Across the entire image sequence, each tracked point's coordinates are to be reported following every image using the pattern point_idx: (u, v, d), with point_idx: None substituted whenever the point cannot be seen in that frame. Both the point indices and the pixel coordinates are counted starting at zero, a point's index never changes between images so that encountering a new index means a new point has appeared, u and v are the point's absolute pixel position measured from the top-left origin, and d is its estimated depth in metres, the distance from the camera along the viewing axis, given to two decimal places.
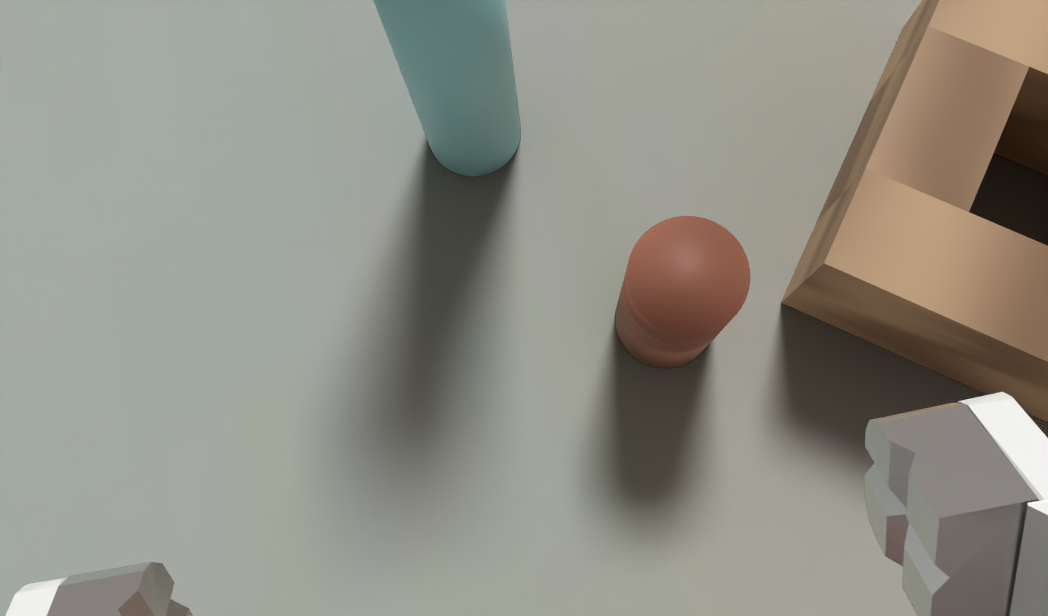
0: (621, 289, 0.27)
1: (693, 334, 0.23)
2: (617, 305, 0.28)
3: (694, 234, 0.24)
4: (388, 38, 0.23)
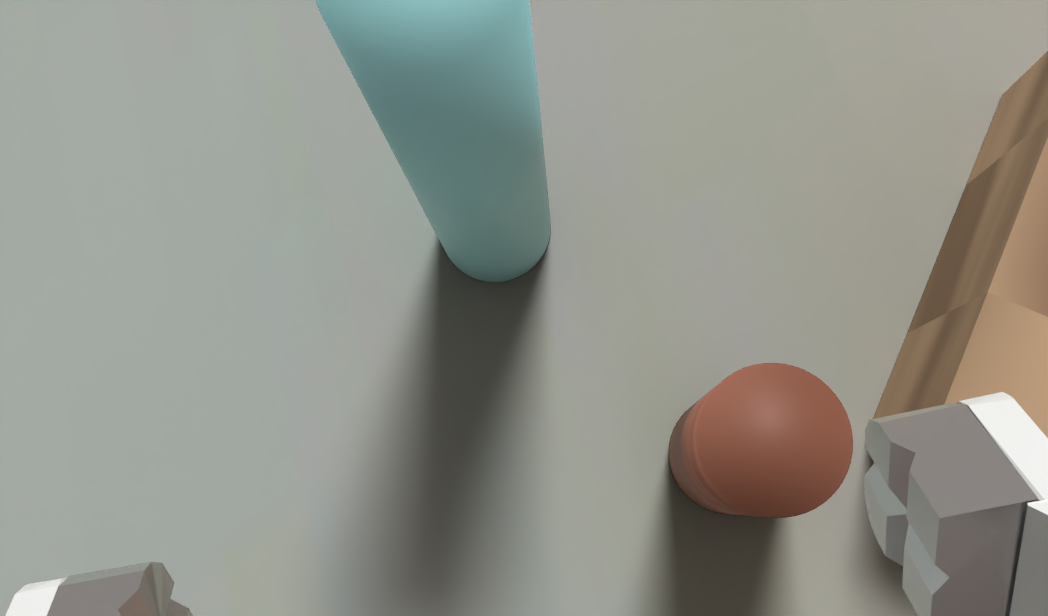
0: (682, 436, 0.22)
1: (783, 516, 0.19)
2: (673, 443, 0.24)
3: (780, 386, 0.19)
4: (392, 150, 0.19)
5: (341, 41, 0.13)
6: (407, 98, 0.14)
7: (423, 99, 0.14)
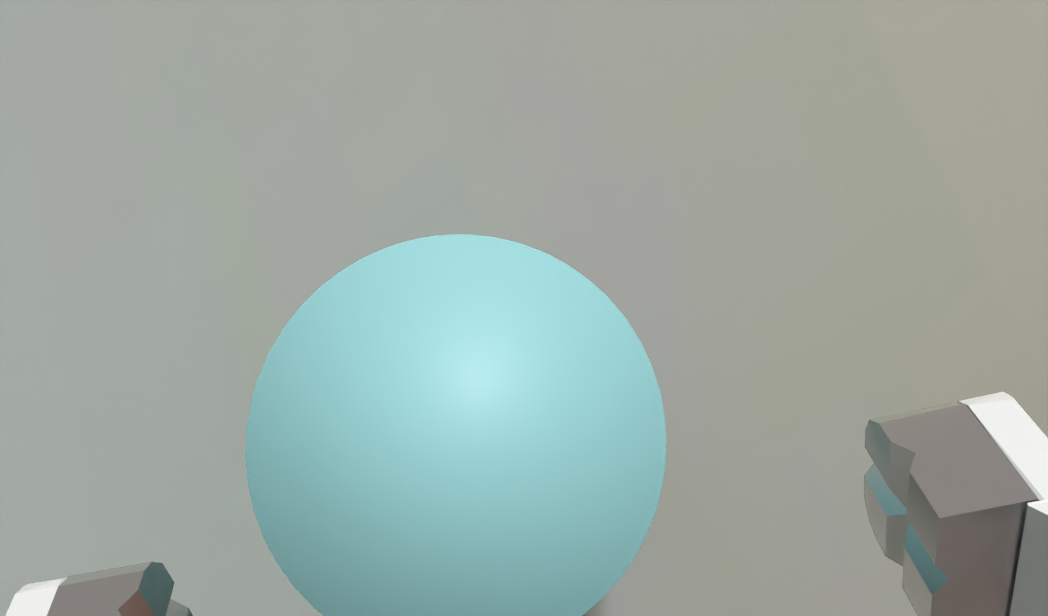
0: None
1: None
2: None
3: None
4: None
5: (301, 592, 0.07)
6: None
7: None
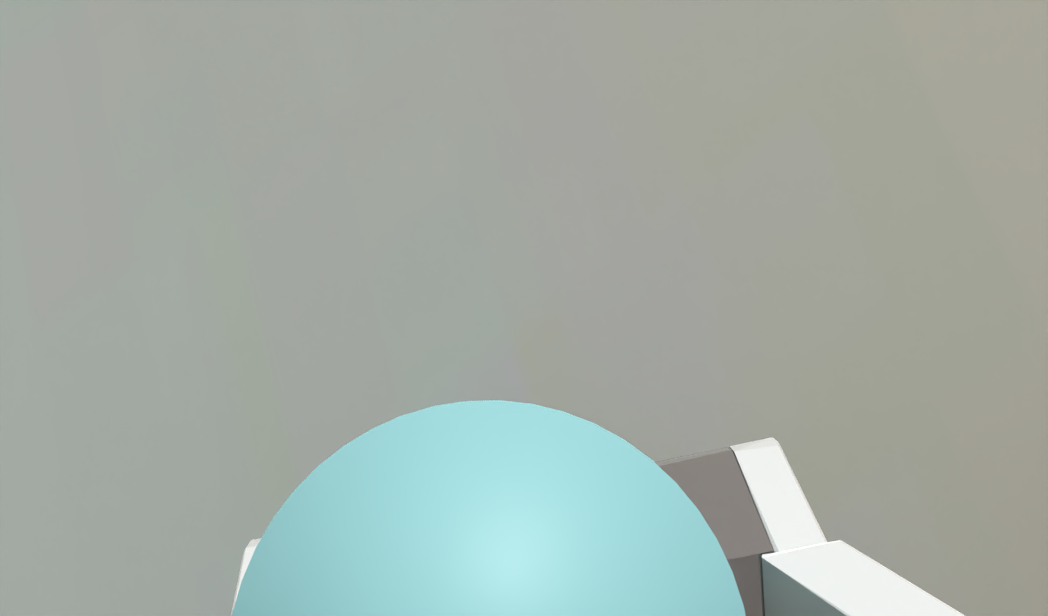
0: None
1: None
2: None
3: None
4: None
5: None
6: None
7: None
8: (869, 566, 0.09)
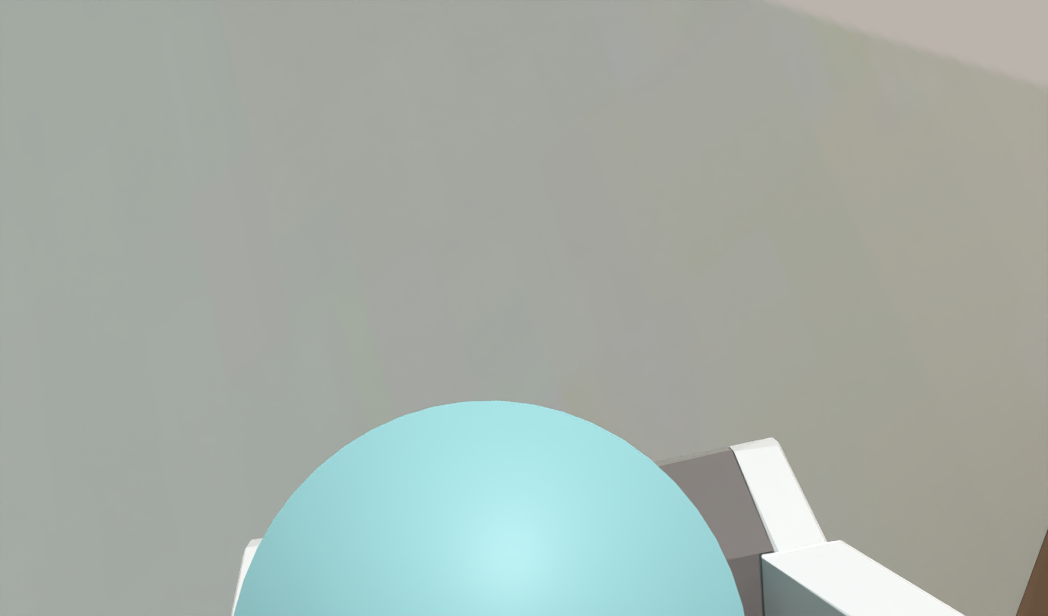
0: None
1: None
2: None
3: None
4: None
5: None
6: None
7: None
8: (868, 566, 0.09)
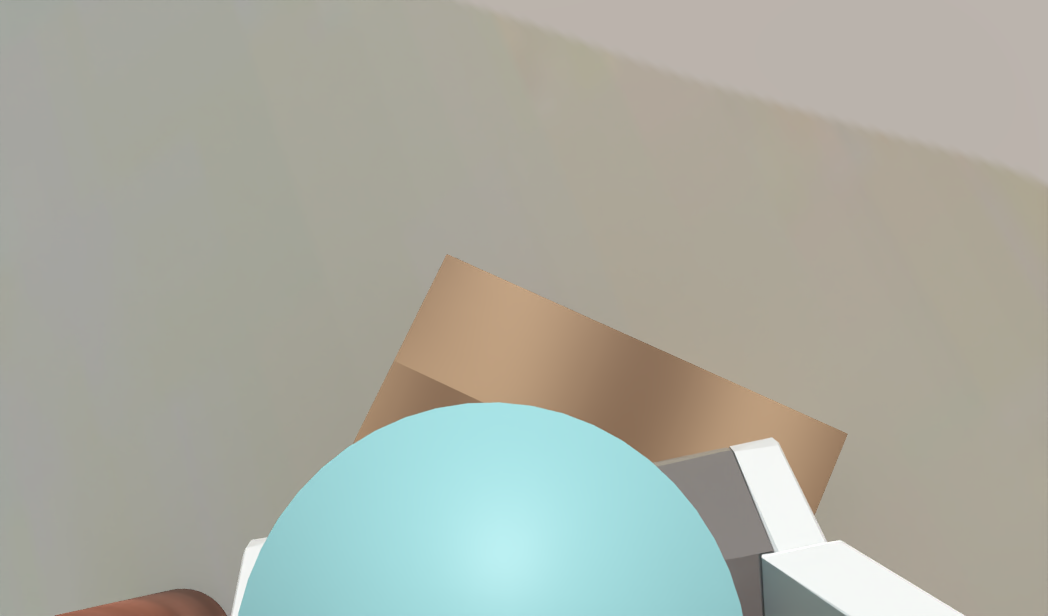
0: None
1: None
2: None
3: None
4: None
5: None
6: None
7: None
8: (869, 566, 0.09)
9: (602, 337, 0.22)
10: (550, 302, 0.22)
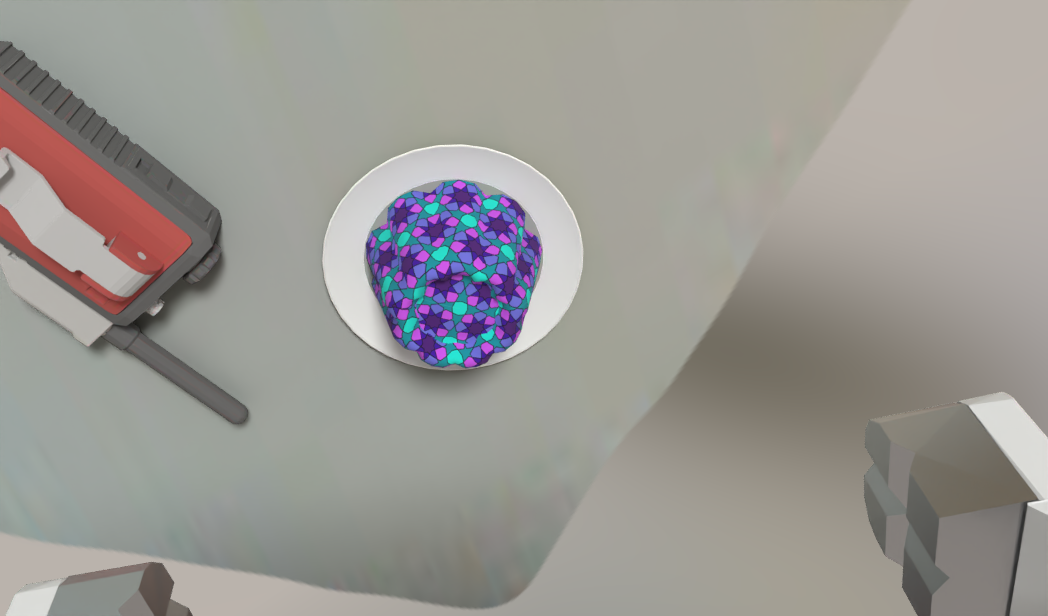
0: None
1: None
2: None
3: None
4: None
5: None
6: None
7: None
8: None
9: None
10: None
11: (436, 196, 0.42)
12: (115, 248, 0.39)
